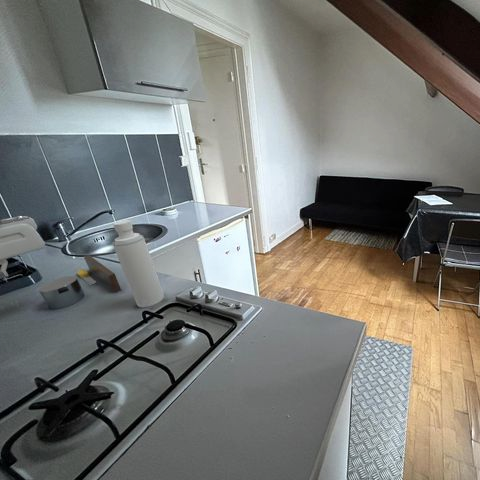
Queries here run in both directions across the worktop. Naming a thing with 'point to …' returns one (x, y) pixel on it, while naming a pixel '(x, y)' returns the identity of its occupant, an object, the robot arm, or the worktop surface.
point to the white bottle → (137, 265)
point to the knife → (86, 276)
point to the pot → (62, 292)
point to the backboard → (102, 273)
